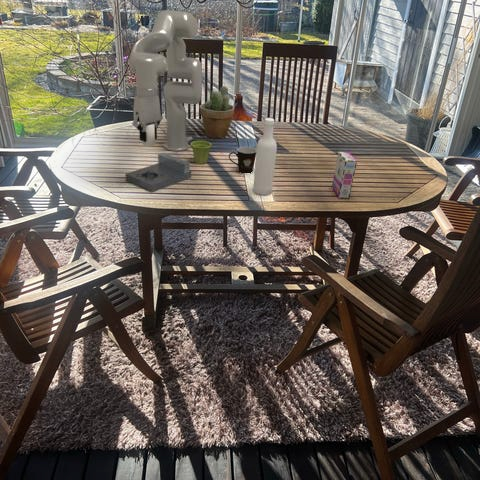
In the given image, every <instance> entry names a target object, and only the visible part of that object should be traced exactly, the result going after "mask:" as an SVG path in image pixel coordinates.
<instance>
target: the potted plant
mask: <svg viewBox="0 0 480 480" xmlns="http://www.w3.org/2000/svg"><path fill="white" fill-rule="evenodd" d="M228 93H229V89H228V87H227V86H223V85H222V86H221V87H220V89H219V91H218V90H213V91H211V93H210V100H207V101H206V102H204V103H202V104H200V105H199V113H200V114H199V115H200V116H201V119H202V120H201V121H202V125H203V129H204V134H205V136H206V137H207V136H208V138H210V137H211V138H210V139H223V137H224V138H226V137H227V134H228V132H229V129H230V126H231V124H232V120H233V117H234V114H235V113H234V112H235V106H234V105H232V104H229V103H230V99H231V98H230V95H229V94H228ZM225 136H226V137H225Z"/></svg>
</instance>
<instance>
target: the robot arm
mask: <svg viewBox="0 0 480 480" xmlns="http://www.w3.org/2000/svg"><path fill="white" fill-rule="evenodd" d="M198 33H199V23H198V20H197V18H196V17H195V16H193V15H192V14H191V13H189V12H187V11H181V10H180V11H179V10H170V9H168V10H167V9H165V10H161V11H159V12H158V14H157V15H156V18H155V20H154V24H153V26H152V29H151V32H150V33H148V34H146V35H144V36H143V37H142V38H140V39H138V40H137V41H136V42H135V43H134V45H133V47H132V49H131V52H130V54H129V59H128V65H129V69H130V71H131V72H133V73H134V74H135V79H136V80H135V85H136V86H135V87H136V96H134V101H133V121H132V123H131V124H132V126H133V127H135V129H137V131H139V141H141V142H142V143H143V142H146V141H147V140H146V132H145V127H146V124H148V123H154V128H155V140H157V139H158V129H159V126H160V123H161V122H162V120H163V119H164V118H163V116H162V114H161V105H160V98H159V95H158V91H159V87H158V78H157V77H158V76H163V75H164V74H165V73H166V72H167V75H168V76H169V77H170V78H171V79H177V80H178V81H176V80H175V81H174V80H173V81H172V80H171V81H167V82H166V83H165V84H164V88H163V95H164V99H165V110H166V112H165V114H166V117H165V118H166V142H164V143H163V148H164V149H166V150H168V151H173V152H182V151H187V150H188V149H190V144H189V142H190V141H192V140H193V137H192V136H187V111H186V109H185V106H184V105H183V104H188V105H198V104H200V102H201V99H202V93H203V91H202V90H203V89H202V87H203V84H202V83H203V67H202V62H201V61H200V60H199V59H198V58H195V57H187V56H186V55H187V51H186V49H187V47H186V46H187V45H186V43H185V41H184V39H191V40H193V39H196V37H197V35H198ZM165 50H166V57H165V56H164V55H163V54H160V53H158V52H162V51H165ZM179 80H188V81H190V82H186V81H185V82H184V81H179Z"/></svg>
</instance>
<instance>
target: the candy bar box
mask: <svg viewBox="0 0 480 480" xmlns="http://www.w3.org/2000/svg"><path fill="white" fill-rule="evenodd" d="M357 163H358V161H357V160H356V158H355V157H354V156H353V155H352V154H351V152H349V151H338V152H337V159H336V163H335V168H334V173H333V178H332V186H331V189H332V188H333V189H332V191H333V190H334V191H335V192H334V191H333V192H334V193H336V194H335V195H336V196H338V197H337V198H338V199H344V198H349V199H350V196H351V191H352V186H353V182H354V177H355V173H356V169H357Z"/></svg>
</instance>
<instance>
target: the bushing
mask: <svg viewBox="0 0 480 480" xmlns="http://www.w3.org/2000/svg"><path fill="white" fill-rule="evenodd" d="M145 132H146V140H147V141H146V142H143V141H142V145H143V146H145V147H151V146H154V145H156V139H155V128H154V123H148V124H146V127H145Z"/></svg>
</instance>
